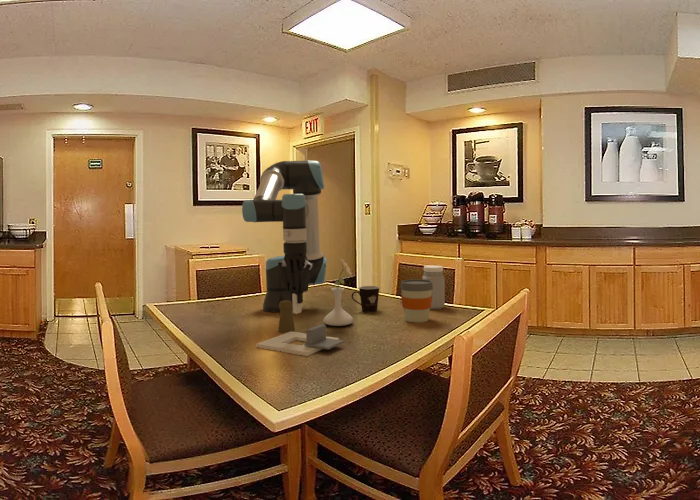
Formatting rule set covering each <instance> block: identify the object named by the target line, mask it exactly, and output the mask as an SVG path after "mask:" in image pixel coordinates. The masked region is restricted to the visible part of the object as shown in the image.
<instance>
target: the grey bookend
mask: <svg viewBox="0 0 700 500" xmlns="http://www.w3.org/2000/svg"><path fill="white" fill-rule="evenodd" d="M305 332H306V340H307V342H305V343H304V344H303V345H304V346H309V347H316V348H322V350H331V349H333V348H335V347H337V346H340V345H342V344H343V343H345V340H343V339H339V340H337V339H330V338H326V336H327V324H318V325H316V326H312V327H310V328H308V329H306V330H305Z"/></svg>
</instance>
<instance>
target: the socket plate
mask: <svg viewBox="0 0 700 500" xmlns="http://www.w3.org/2000/svg"><path fill="white" fill-rule="evenodd" d="M326 338H330V339H337V340H340V337H333V336H327V335H326ZM295 341H298V342H305V343H307V340H306V333H305V332H298V331H294V332H292V331H291V332H288V333H283V334H282V333H281V334H279V335H277V336H275V337H272V338H269V339H266V340H263V341H260V342H257V343H256V344H255V345H256V346H255V347H256V348H257V347H259V348H258V349H262V348H264V349H263V350H268V349H270V350H269V351H274V350H276V351H275V352H280V351H281V353H285V354H287V353H288V354H293V355H299V356H304V357H309V356H312V355H313V354H316V353H317V352H319V351H322V350H323V349H322V348H316V347H309V346H304V344H302V345H299V344H293V343H292V342H295Z"/></svg>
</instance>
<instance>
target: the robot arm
mask: <svg viewBox="0 0 700 500" xmlns="http://www.w3.org/2000/svg"><path fill="white" fill-rule="evenodd" d="M324 178H325V177H324V172H323V168H322V165H321V162H320V161H318V160H311V159H307V160H306V159H305V160H303V159H302V160H283V161H279V162H275V163H273V164H272V165H270V166H269V167H267V168H266V169H265V170H264V171H263V172H262V173H261V175H260V178H259V186H258V188H257V190H256V193H255V195H254V197H253V199H249V200H247V199H246V200H243V202H242V207H241V210H242V211H241V213H242V218H243V221H244V222H247V223H269V222H270V223H275V222H277V223H278V222H279V223H280V222H282V233H283V234H282V235H283V236H282V237H283V238H282V241H284V242H283V253H284V255H279V256H275V257H274V256H273V257H269V258H267V260H266V261H265V278H266V279H265V283H266V285H265V287H266V293H265V297H264V300H263V304H262V309H263V311H265V312H271V313H280V309H279V303H280V302H281V301H284V300H289V301H291V303H293V308H292V314H293V315H294V314H295V315H296V314H300V313H302V303H303V302H304V299H303V298H304V295H303V294H304V293H306V292H308V290H309V286H310V285H313V286H315V285H321V284H324V283H325V281H326V269H327V263H328V262H327V261H328V259H327V257H324V253H323V252H322V251H321V248H320V247H321V246H320V228H319V227H320V226H319V225H320V224H319V223H320V222H319V196H320V195H321V194H322V190H324V189H325V179H324ZM282 190H292V191H293V192H292V193H284V194H283V195H282V196H281V199H277V197H278V194H279V192H280V191H282Z"/></svg>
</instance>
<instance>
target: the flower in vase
mask: <svg viewBox="0 0 700 500" xmlns="http://www.w3.org/2000/svg"><path fill="white" fill-rule="evenodd" d="M339 261H340V265H341V267H342V269H341V271H340V274H339V276H338V279H336V280H335V282H334V285H335V286H337V287H332V288H330V290H331V292H332V294H333V297H334V307H333V310H331V311H330V312H329V313H328V314H327V315H326V316H324V318H323V322H324V325H326V326H327V325H328V326H332V327H340V326H341V327H342V326H347V325H350V324H352V323H353V322H354V318H353V317H352V316H351V314H349V313H348V312H347V311H345V310H344V309H343V307H342V295H343V292H344V290H345V288H344V287H340V284H341V285H344V284H345V281H344V279H343V278H342V277H341V276H342V274H343V271H344V273H345V274H346V275H347V276H348V277H349V278H351V277H352V276H353V273H352V272H351V268H350V267H349V266H348V263H347V262H345V260H344V258H340V260H339Z"/></svg>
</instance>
